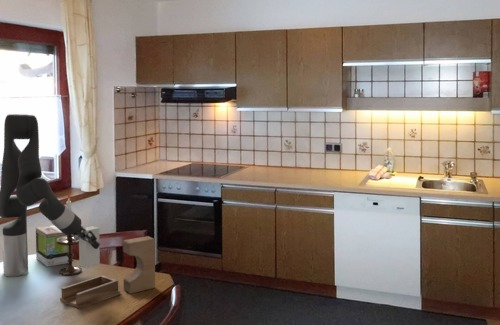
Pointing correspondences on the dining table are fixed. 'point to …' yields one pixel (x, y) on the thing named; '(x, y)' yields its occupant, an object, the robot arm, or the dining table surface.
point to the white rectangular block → (89, 250)
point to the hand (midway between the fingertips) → (93, 245)
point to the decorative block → (140, 264)
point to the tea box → (50, 246)
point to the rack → (90, 291)
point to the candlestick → (69, 250)
